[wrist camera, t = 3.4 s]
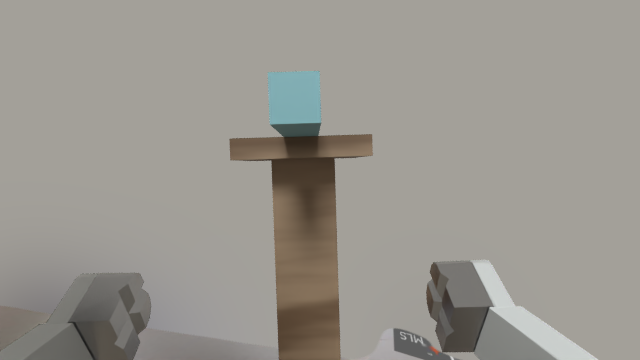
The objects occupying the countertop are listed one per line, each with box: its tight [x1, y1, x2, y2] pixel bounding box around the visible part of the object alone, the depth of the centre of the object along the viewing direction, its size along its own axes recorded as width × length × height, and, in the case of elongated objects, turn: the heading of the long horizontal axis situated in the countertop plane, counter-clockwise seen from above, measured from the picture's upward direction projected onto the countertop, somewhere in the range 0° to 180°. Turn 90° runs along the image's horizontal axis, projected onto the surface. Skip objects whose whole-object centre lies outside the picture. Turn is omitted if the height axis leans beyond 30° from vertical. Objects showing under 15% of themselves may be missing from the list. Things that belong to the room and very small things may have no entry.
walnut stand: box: [230, 134, 373, 360], centre depth 34 cm, size 12×10×26 cm
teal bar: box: [268, 71, 321, 137], centre depth 30 cm, size 24×2×2 cm, turn 1°
